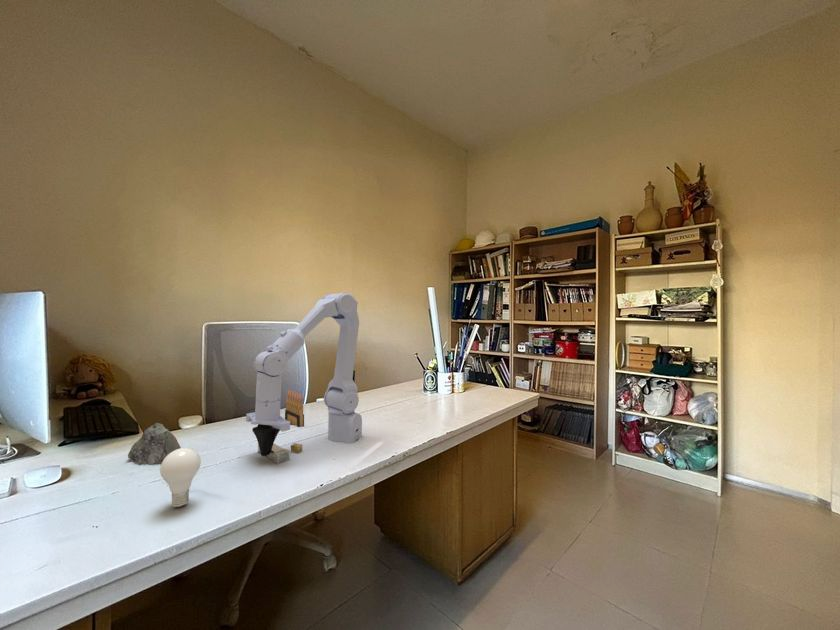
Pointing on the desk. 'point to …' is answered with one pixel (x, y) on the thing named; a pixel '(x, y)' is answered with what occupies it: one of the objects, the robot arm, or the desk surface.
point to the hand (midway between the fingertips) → (265, 455)
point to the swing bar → (278, 454)
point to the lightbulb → (180, 473)
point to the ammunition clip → (294, 409)
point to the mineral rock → (153, 446)
